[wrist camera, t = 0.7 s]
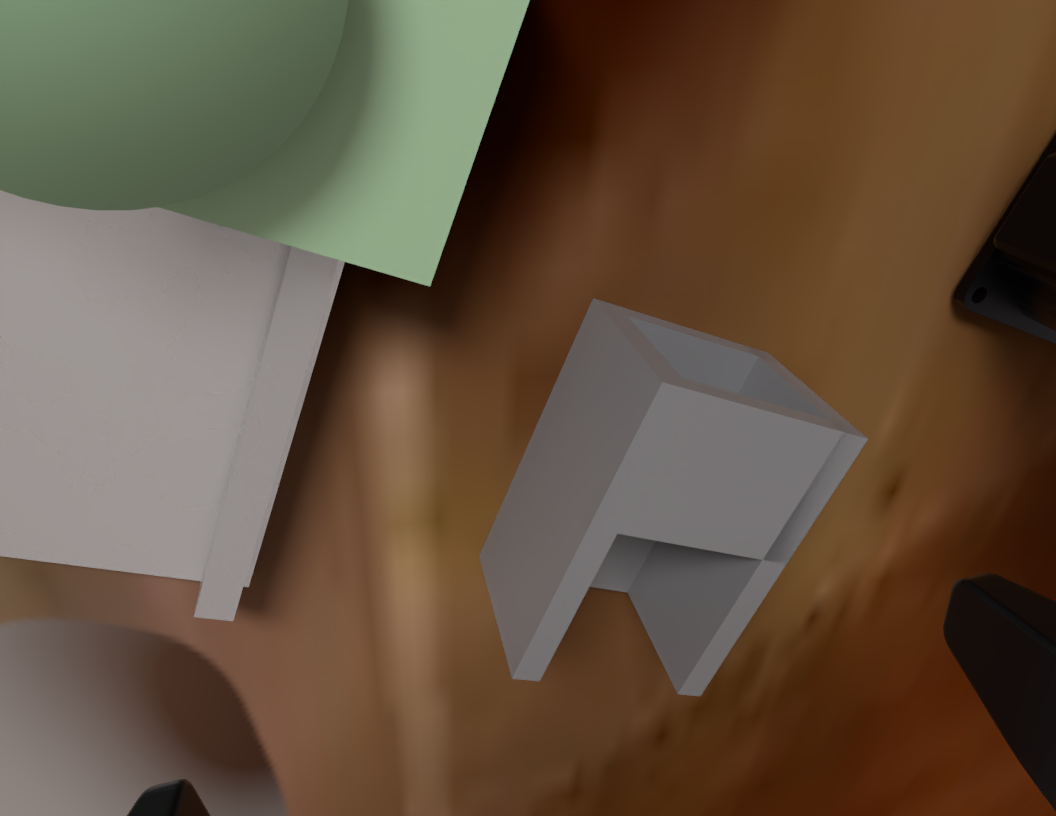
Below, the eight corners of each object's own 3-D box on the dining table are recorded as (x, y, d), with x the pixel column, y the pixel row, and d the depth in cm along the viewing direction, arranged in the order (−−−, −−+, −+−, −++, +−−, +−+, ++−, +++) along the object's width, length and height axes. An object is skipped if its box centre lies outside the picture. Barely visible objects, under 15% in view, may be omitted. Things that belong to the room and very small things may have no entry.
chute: (766, 351, 23) (867, 438, 19) (639, 579, 26) (700, 696, 22) (591, 296, 21) (662, 382, 16) (478, 553, 24) (512, 678, 20)
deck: (536, -125, 15) (607, -154, 12) (301, 584, 23) (298, 708, 19) (-404, -628, 10) (-835, -981, 6) (-313, 505, 18) (-488, 653, 14)
